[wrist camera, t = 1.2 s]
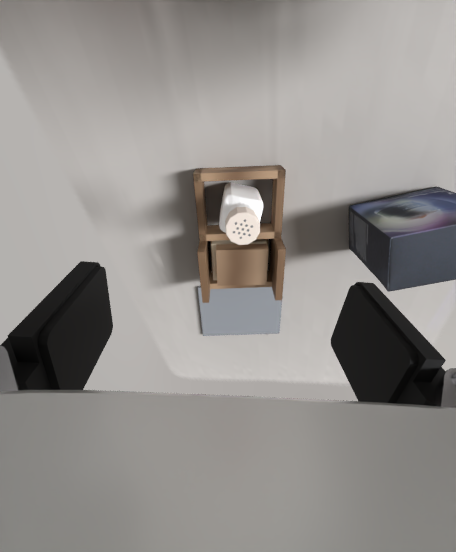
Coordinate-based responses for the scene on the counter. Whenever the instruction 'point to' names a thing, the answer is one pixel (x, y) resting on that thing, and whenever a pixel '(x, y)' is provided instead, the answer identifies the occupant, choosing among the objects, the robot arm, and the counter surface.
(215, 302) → the slate mat
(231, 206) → the pepper shaker
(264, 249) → the block
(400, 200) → the small box
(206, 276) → the brown wooden frame
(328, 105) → the counter surface
